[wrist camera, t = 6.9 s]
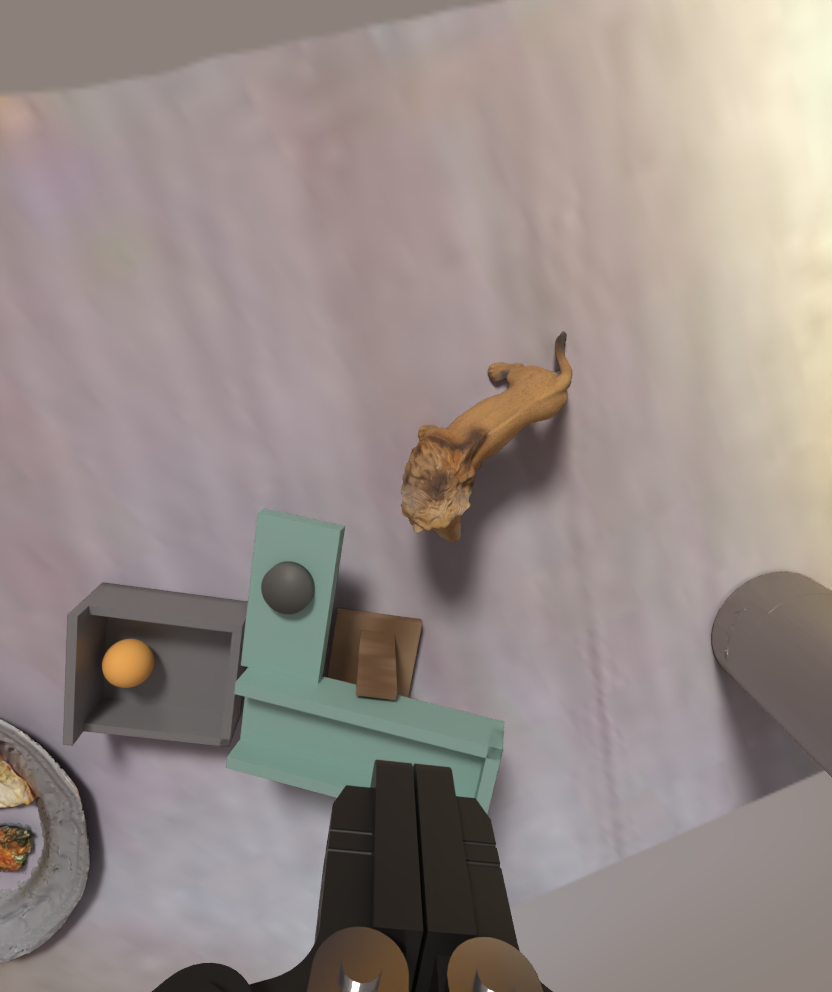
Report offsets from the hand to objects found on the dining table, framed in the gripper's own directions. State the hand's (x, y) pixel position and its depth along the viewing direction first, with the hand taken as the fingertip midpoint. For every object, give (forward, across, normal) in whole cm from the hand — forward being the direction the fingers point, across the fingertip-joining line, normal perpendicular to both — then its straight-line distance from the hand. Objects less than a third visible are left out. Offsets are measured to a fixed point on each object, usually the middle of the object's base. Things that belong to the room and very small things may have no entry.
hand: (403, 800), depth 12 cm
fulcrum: (+31, -1, +16) cm, 34 cm away
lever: (+24, -1, +11) cm, 26 cm away
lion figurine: (+31, -5, -4) cm, 31 cm away
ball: (+28, +16, +16) cm, 36 cm away
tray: (+30, +13, +16) cm, 37 cm away
